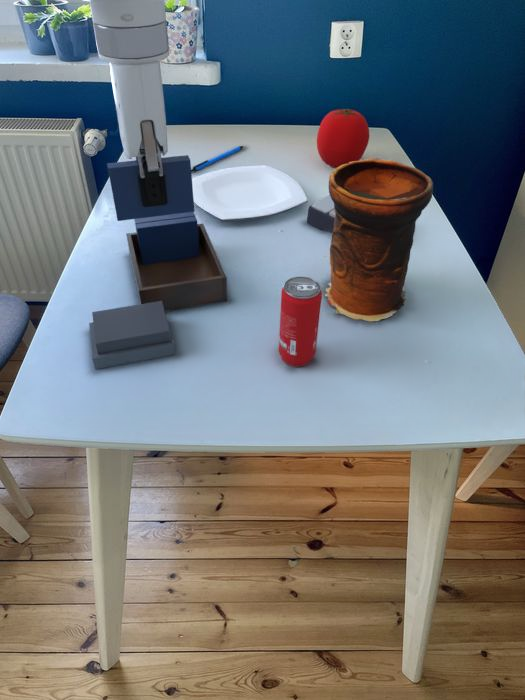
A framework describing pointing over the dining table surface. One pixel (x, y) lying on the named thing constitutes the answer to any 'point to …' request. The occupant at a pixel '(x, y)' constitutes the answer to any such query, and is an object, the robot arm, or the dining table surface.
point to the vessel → (373, 235)
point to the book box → (180, 277)
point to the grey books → (130, 335)
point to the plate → (246, 192)
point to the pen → (216, 159)
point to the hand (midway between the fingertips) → (153, 199)
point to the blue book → (129, 190)
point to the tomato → (342, 137)
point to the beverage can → (299, 320)
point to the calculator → (322, 214)
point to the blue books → (167, 237)
